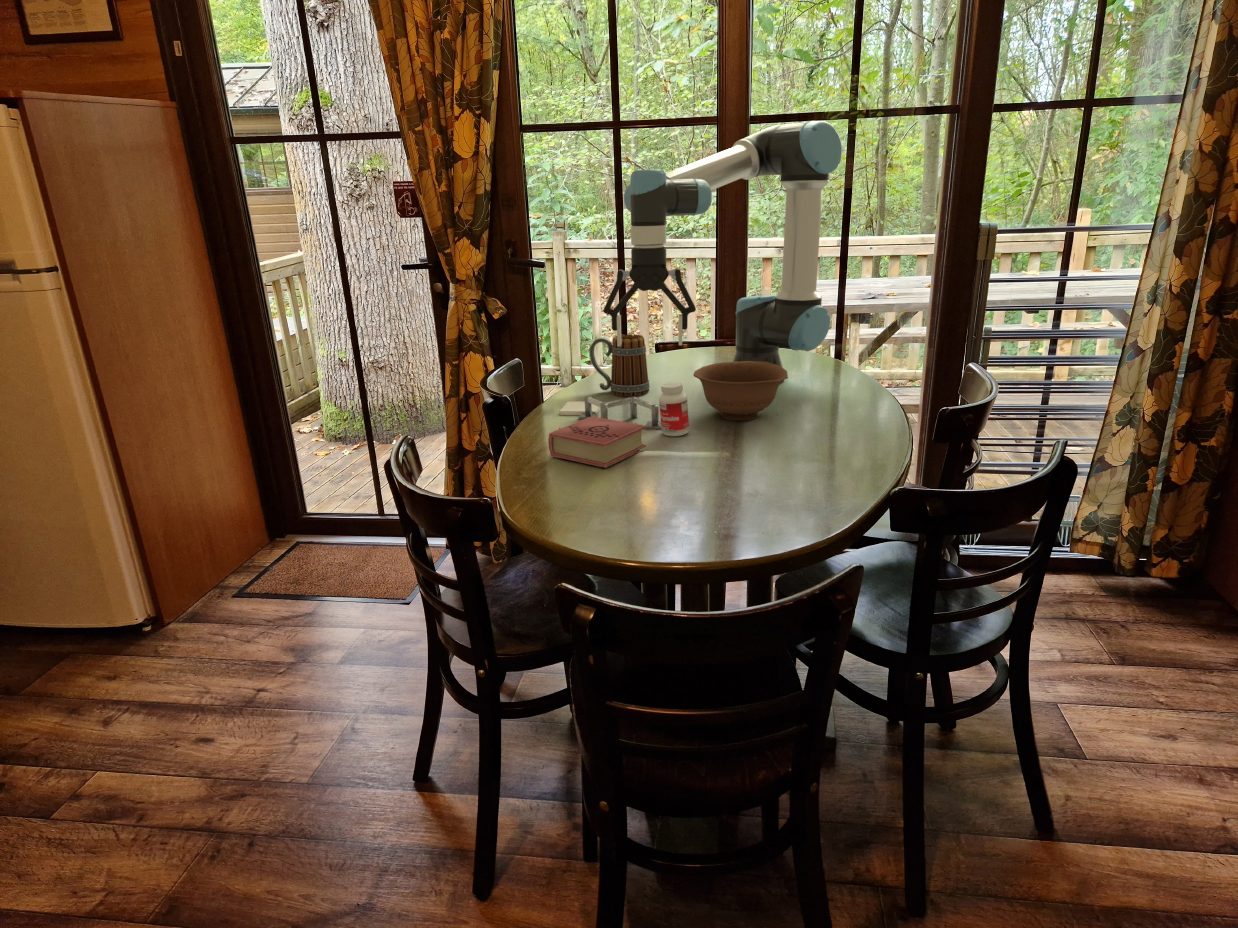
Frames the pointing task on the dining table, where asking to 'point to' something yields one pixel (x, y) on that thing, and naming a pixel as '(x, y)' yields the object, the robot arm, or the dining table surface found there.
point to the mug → (625, 366)
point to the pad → (577, 408)
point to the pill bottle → (673, 409)
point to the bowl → (740, 387)
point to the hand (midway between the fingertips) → (649, 345)
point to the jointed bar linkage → (632, 400)
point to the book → (596, 441)
